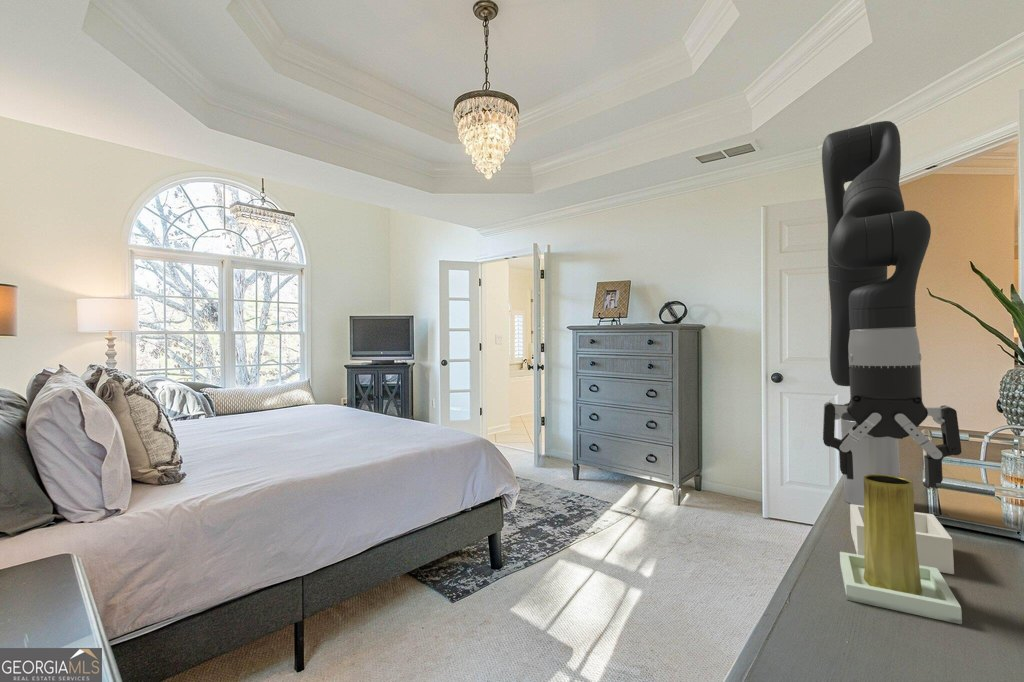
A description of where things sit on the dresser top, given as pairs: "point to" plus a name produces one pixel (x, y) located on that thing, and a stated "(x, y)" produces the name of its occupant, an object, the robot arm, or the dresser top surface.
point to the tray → (928, 604)
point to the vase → (890, 534)
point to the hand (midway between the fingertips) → (888, 481)
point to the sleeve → (929, 539)
